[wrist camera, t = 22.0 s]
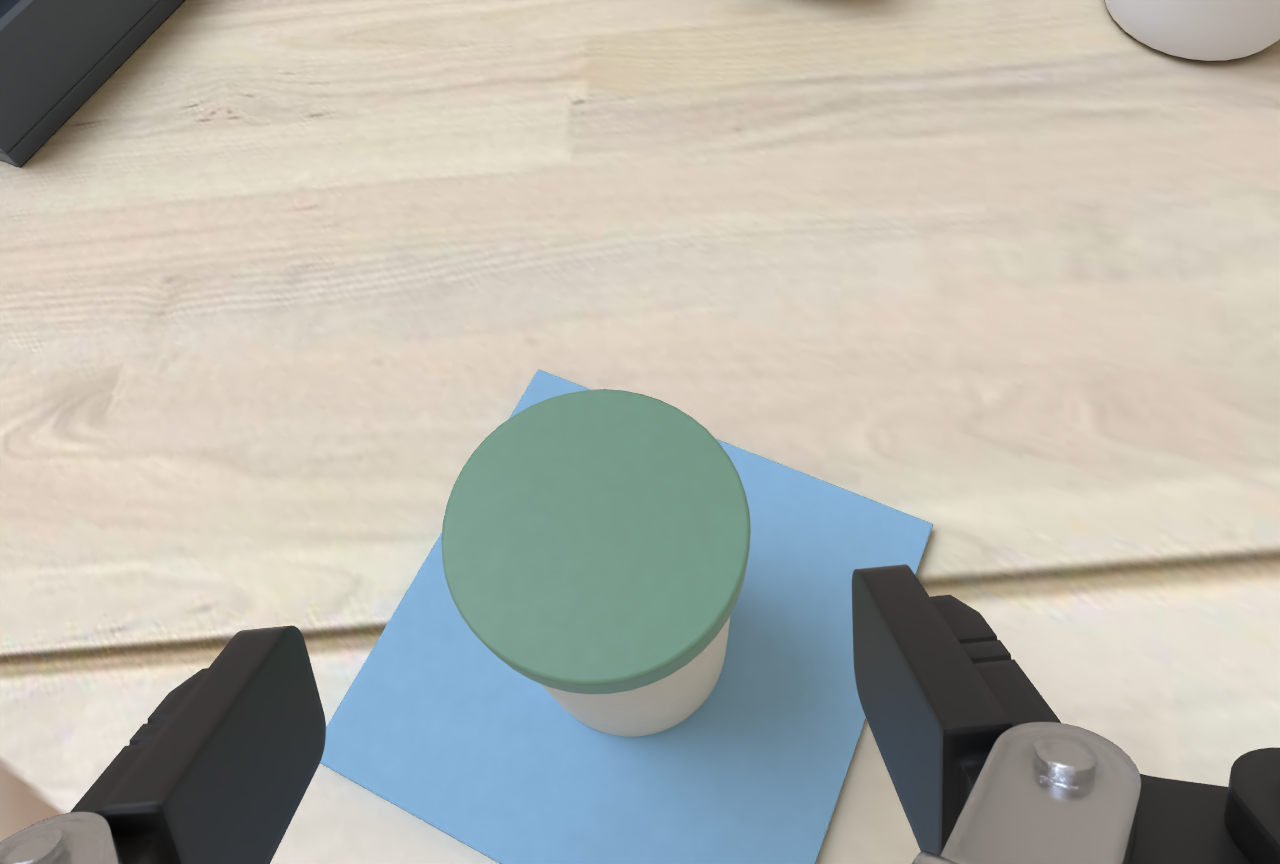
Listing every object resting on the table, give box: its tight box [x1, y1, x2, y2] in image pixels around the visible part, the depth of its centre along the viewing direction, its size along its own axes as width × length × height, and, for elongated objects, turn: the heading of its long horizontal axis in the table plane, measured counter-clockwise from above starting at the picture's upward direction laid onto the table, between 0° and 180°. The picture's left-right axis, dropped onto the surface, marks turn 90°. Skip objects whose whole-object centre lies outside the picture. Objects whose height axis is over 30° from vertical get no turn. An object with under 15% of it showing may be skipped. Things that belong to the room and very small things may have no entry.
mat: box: [320, 370, 933, 864], centre depth 26 cm, size 14×14×1 cm
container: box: [441, 389, 751, 737], centre depth 21 cm, size 6×6×10 cm
